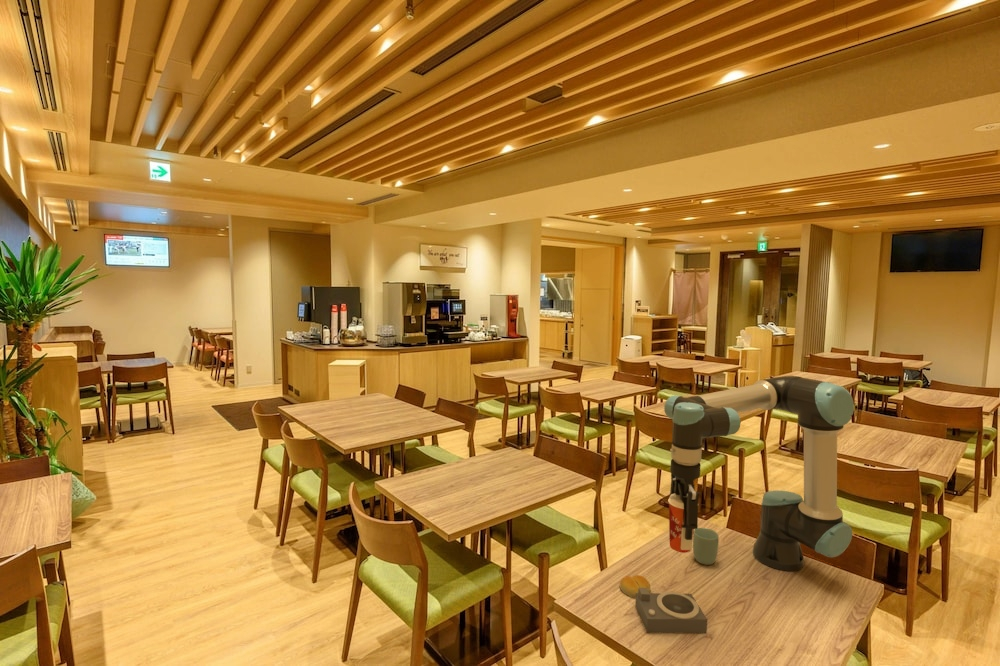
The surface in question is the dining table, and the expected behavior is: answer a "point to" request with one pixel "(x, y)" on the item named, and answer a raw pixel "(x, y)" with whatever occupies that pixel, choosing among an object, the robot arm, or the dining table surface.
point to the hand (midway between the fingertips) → (681, 542)
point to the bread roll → (634, 585)
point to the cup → (705, 545)
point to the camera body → (670, 612)
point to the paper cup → (676, 522)
